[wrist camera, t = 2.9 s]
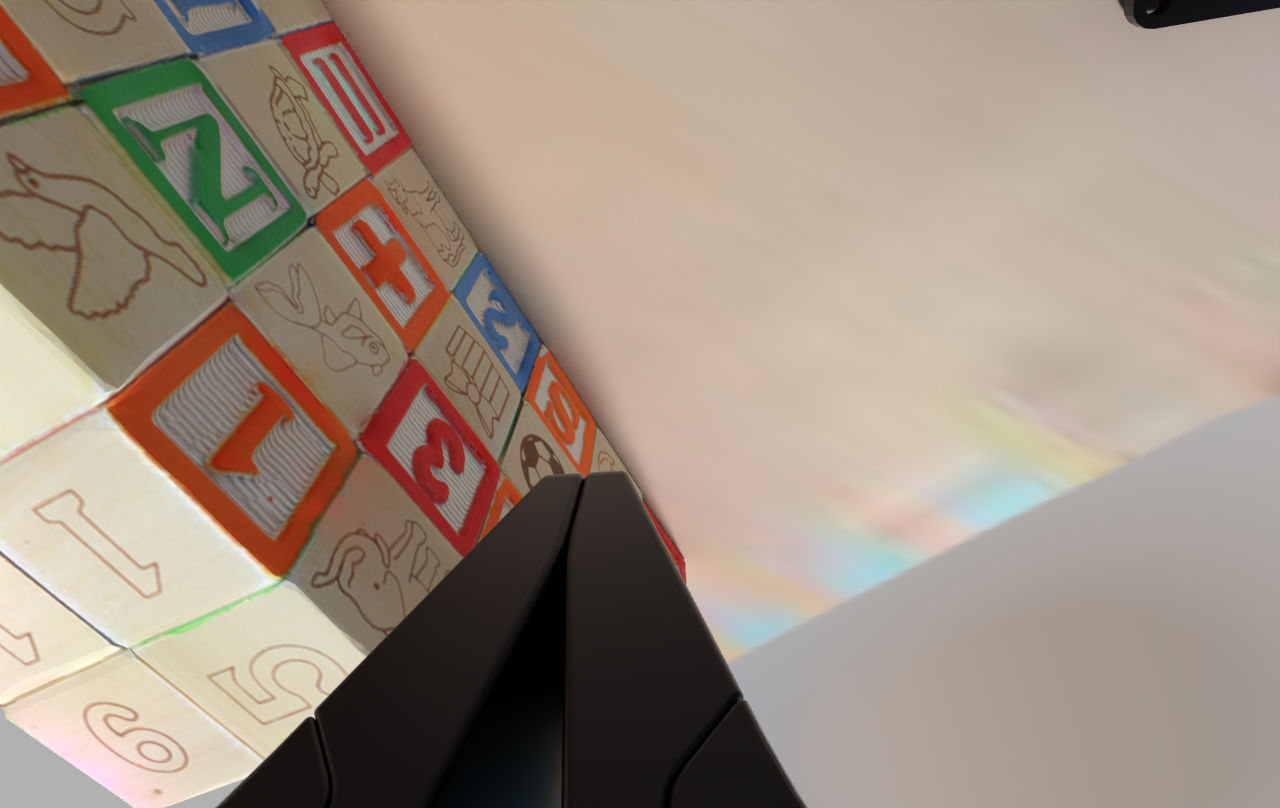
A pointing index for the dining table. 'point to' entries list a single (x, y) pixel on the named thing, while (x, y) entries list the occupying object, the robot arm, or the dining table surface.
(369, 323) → the stack of blocks
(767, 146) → the dining table surface
